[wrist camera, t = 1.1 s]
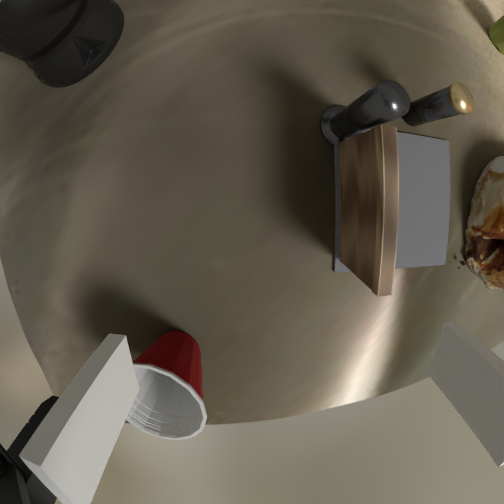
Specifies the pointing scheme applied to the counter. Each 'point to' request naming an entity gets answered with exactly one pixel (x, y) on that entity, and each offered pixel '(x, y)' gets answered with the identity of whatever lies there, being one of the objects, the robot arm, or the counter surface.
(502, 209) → the strawberry shortcake
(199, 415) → the plastic cup
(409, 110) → the salt and pepper shakers
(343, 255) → the gate
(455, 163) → the counter surface
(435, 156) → the rubber mat
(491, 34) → the plant pot
